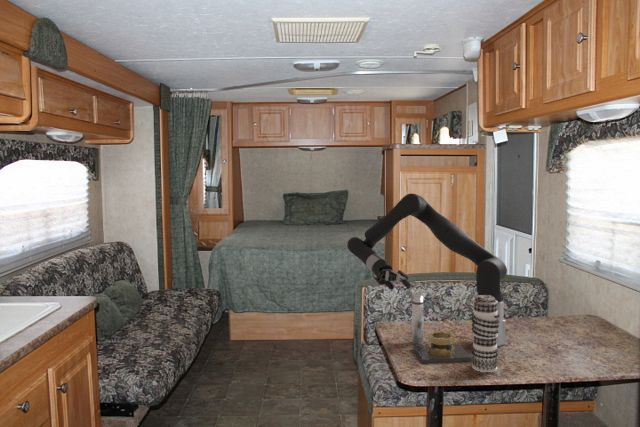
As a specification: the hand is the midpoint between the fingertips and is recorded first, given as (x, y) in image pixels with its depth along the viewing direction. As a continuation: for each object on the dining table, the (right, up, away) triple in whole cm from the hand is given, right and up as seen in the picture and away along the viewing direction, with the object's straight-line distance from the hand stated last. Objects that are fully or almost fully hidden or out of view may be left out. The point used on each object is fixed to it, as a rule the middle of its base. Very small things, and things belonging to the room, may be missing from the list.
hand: (401, 287), depth 202 cm
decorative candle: (+24, -24, -28) cm, 44 cm away
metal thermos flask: (+6, -22, -2) cm, 23 cm away
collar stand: (+12, -23, -16) cm, 30 cm away
